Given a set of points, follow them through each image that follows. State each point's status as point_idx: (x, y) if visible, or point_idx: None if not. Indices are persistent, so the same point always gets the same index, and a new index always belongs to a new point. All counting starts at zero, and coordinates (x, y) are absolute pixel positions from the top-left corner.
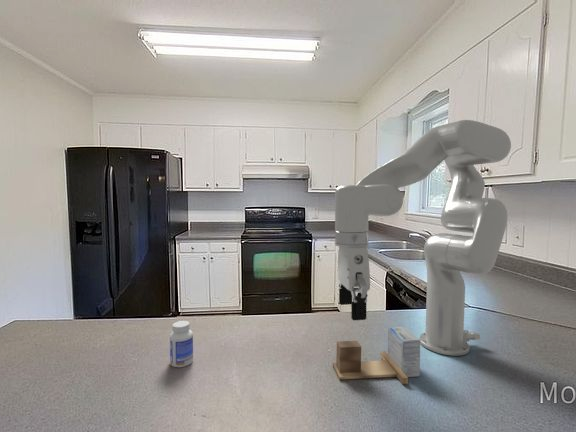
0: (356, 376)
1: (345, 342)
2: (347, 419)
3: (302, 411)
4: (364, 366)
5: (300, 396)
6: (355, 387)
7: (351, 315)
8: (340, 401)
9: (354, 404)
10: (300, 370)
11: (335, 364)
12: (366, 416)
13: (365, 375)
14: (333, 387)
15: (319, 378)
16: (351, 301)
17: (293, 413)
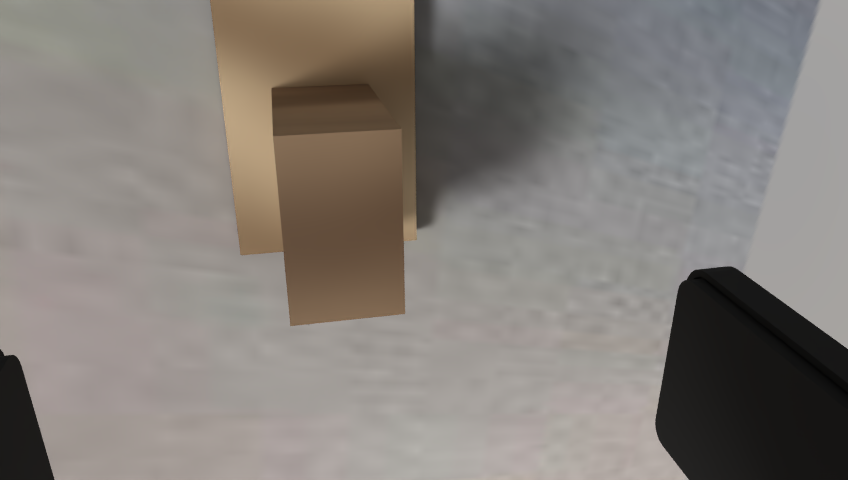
0: (414, 128)
1: (309, 254)
2: (707, 248)
3: (620, 418)
4: (293, 30)
5: (524, 427)
6: (488, 151)
7: (689, 470)
8: (589, 257)
9: (623, 194)
10: (294, 431)
11: (263, 239)
12: (711, 159)
13: (414, 64)
14: (474, 273)
15: (382, 337)
16: (2, 388)
17: (624, 449)
